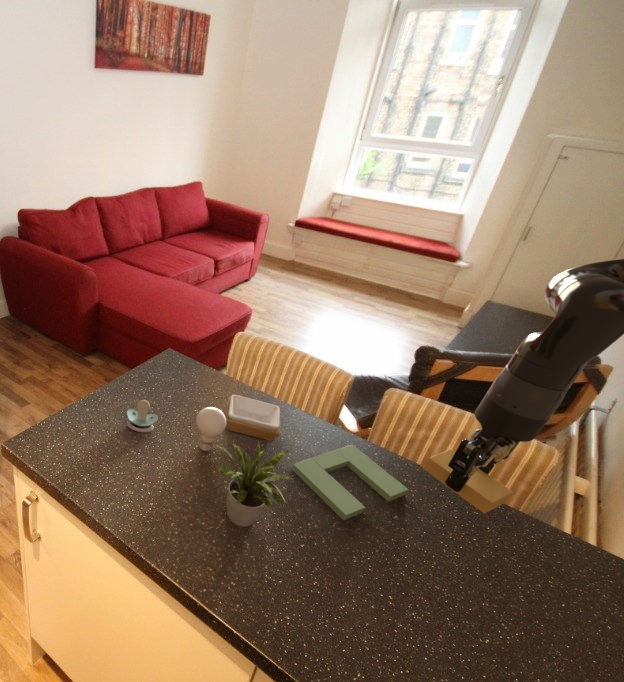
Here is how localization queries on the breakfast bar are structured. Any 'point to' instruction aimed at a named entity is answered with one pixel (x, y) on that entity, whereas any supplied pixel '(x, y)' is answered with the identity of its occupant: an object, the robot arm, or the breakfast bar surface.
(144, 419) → the pacifier
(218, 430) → the lightbulb
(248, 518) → the house plant
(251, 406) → the soap dish
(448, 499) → the breakfast bar surface
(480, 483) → the ochre pad
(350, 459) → the green u-shaped block
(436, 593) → the breakfast bar surface
